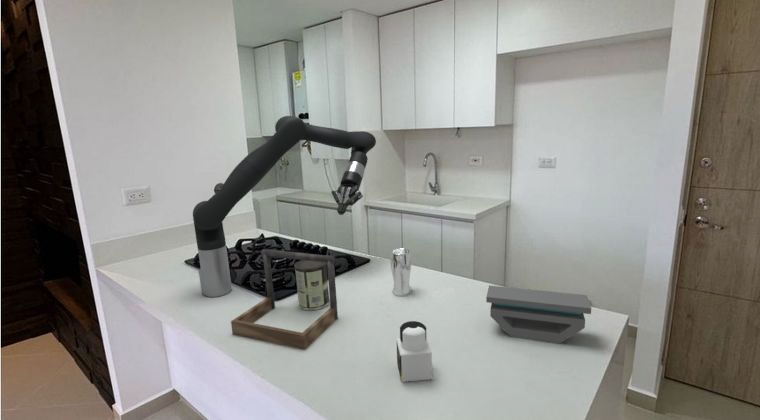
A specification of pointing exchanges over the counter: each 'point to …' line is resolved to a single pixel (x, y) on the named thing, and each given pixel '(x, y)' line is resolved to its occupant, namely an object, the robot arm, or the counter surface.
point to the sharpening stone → (538, 313)
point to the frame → (271, 334)
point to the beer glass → (401, 271)
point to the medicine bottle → (413, 353)
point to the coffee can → (312, 284)
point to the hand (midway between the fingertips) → (340, 213)
